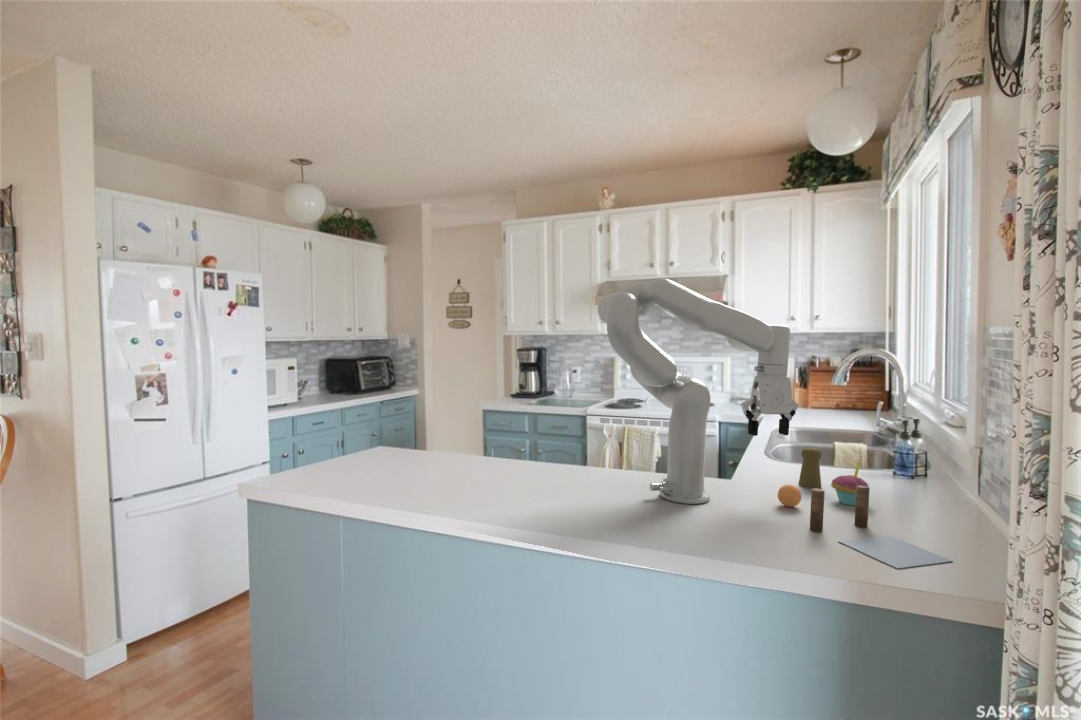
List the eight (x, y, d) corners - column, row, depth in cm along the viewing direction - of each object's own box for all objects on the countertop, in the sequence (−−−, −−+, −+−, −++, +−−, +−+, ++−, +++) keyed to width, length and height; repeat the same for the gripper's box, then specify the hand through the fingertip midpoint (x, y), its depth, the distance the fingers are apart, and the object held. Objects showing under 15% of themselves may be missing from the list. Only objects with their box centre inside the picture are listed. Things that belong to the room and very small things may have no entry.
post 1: (815, 532, 126) (817, 492, 125) (807, 528, 128) (808, 489, 128) (825, 531, 126) (827, 491, 126) (816, 527, 129) (818, 488, 128)
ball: (787, 510, 141) (788, 488, 141) (772, 503, 146) (773, 482, 146) (805, 509, 143) (806, 487, 142) (790, 502, 148) (791, 481, 148)
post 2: (861, 528, 129) (863, 489, 129) (851, 524, 132) (853, 485, 131) (870, 527, 130) (872, 488, 130) (860, 523, 133) (862, 485, 132)
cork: (816, 483, 167) (818, 446, 167) (824, 489, 161) (826, 450, 161) (795, 482, 168) (797, 445, 167) (802, 488, 162) (804, 449, 161)
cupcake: (864, 500, 151) (866, 455, 151) (871, 509, 143) (873, 462, 143) (828, 496, 154) (830, 452, 153) (833, 505, 146) (835, 459, 145)
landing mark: (897, 569, 107) (897, 568, 107) (838, 542, 120) (838, 541, 120) (952, 561, 111) (952, 560, 111) (890, 536, 125) (890, 535, 125)
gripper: (753, 371, 146) (749, 437, 147) (809, 372, 151) (805, 436, 152) (735, 369, 153) (731, 432, 154) (789, 370, 158) (785, 431, 159)
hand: (768, 434), depth 153 cm, fingers open, 9 cm apart
